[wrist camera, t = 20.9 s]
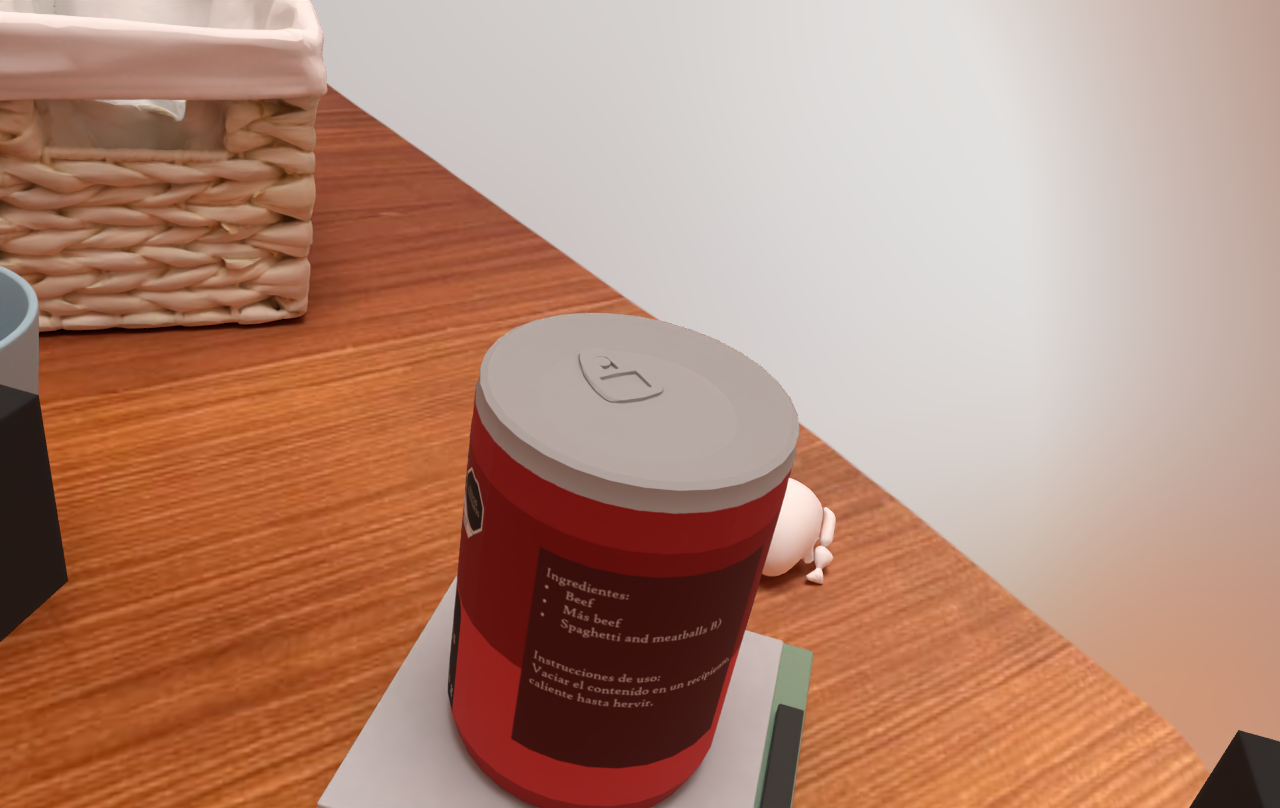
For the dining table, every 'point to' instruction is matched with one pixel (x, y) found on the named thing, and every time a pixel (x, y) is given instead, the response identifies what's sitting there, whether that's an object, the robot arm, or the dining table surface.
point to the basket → (159, 158)
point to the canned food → (610, 553)
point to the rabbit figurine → (800, 533)
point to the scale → (474, 804)
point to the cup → (18, 333)
